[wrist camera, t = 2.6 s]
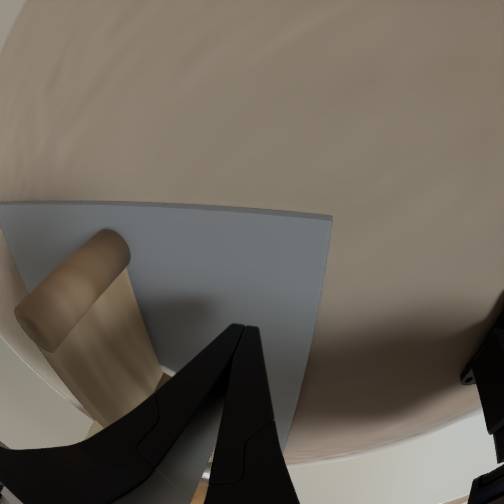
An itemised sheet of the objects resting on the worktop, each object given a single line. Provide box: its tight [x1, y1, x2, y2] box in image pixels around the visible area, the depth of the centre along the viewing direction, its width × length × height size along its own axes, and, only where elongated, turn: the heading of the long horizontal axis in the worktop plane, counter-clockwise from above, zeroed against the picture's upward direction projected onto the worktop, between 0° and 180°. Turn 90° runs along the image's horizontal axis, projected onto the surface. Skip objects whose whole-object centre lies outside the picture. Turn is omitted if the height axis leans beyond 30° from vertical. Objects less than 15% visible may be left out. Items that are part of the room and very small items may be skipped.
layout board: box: [0, 201, 332, 454], centre depth 16 cm, size 18×22×1 cm
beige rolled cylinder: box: [14, 229, 163, 428], centre depth 10 cm, size 2×9×5 cm, turn 0°
